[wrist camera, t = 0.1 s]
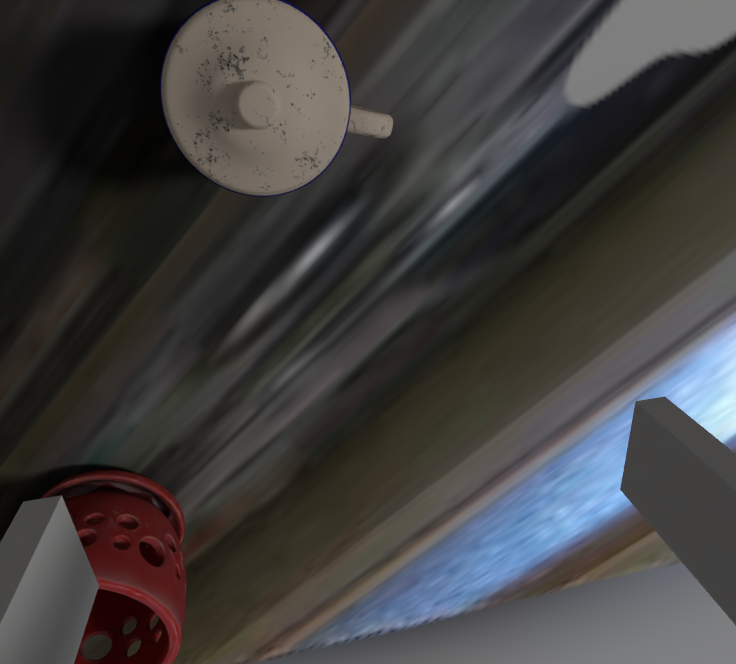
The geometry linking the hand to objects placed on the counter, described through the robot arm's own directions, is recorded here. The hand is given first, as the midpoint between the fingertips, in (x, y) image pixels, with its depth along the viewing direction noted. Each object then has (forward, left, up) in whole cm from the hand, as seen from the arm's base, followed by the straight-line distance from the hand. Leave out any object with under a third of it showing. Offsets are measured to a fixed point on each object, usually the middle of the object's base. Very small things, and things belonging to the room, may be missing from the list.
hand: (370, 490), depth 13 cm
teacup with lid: (-7, 0, -28) cm, 29 cm away
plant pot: (+24, -18, -28) cm, 41 cm away
